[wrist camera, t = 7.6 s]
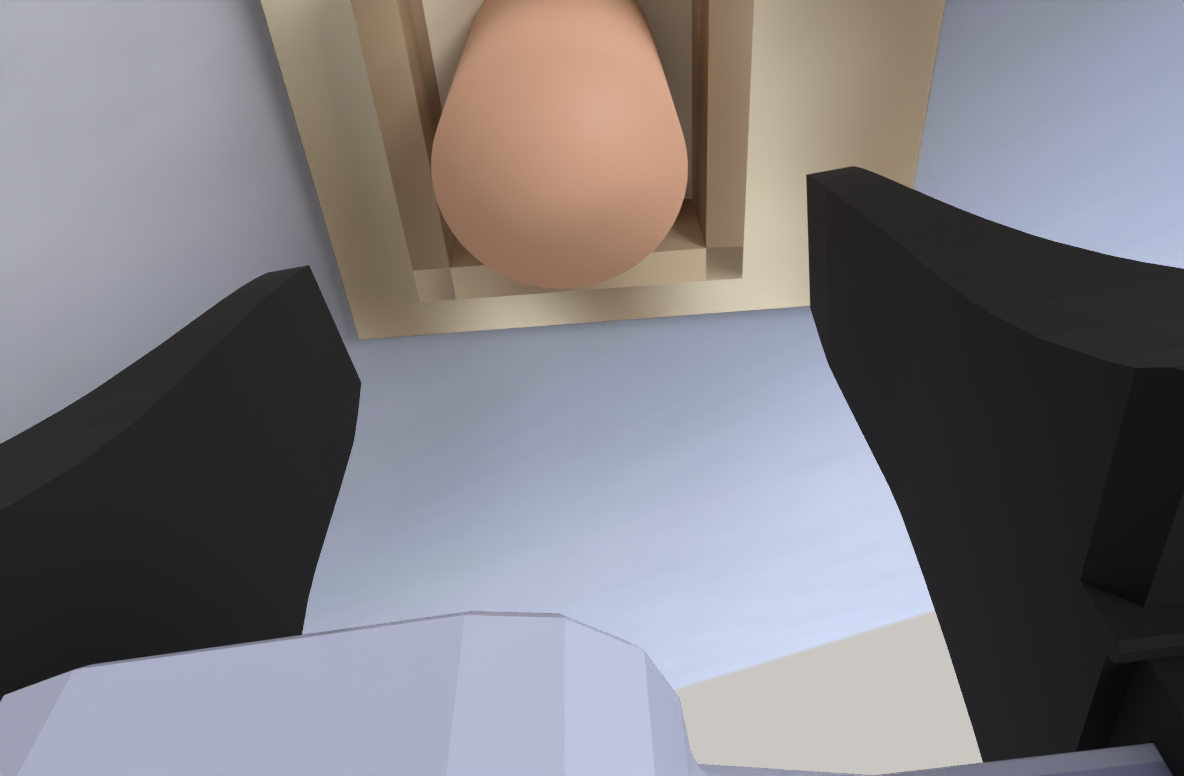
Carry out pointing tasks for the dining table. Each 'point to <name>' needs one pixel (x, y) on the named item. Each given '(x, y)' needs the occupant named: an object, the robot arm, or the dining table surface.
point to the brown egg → (559, 142)
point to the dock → (707, 118)
